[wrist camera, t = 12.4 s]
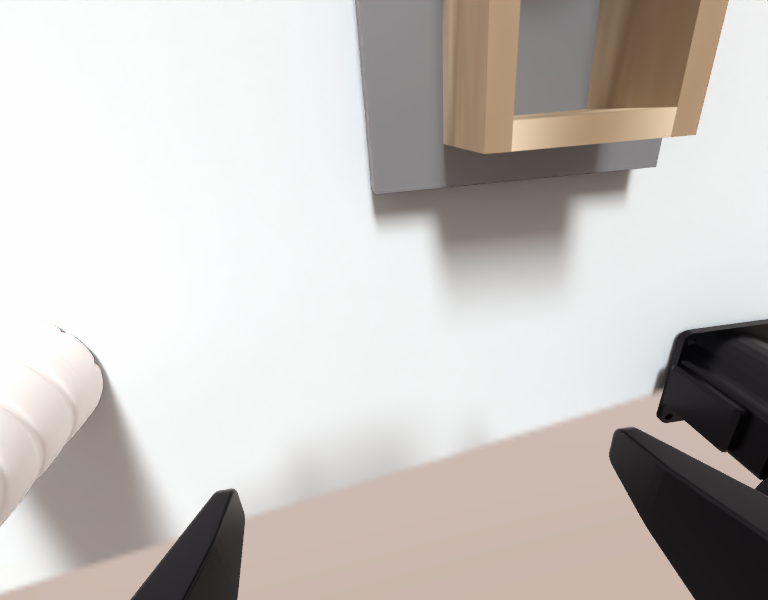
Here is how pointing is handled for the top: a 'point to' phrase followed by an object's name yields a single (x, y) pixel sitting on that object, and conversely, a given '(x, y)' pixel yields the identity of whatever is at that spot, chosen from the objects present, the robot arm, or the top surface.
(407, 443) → the top surface
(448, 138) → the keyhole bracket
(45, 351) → the water bottle
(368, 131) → the grey plate with ball
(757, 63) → the top surface
